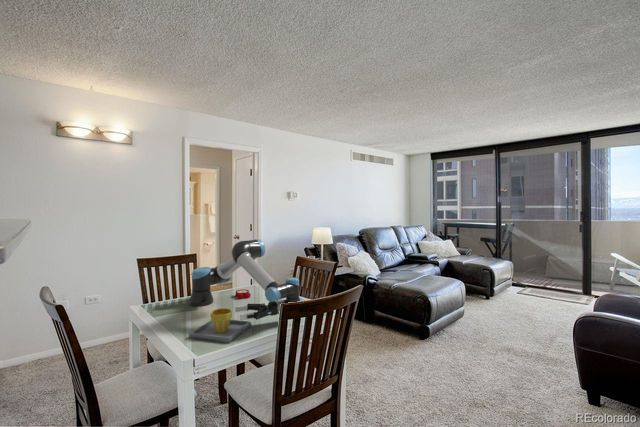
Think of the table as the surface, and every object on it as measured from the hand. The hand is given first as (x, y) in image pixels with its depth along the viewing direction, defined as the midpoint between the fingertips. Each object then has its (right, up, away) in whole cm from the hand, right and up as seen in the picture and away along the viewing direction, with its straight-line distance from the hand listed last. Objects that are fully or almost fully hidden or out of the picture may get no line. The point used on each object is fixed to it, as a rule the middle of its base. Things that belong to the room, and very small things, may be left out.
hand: (237, 313), depth 167 cm
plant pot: (-8, -8, -3) cm, 11 cm away
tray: (-8, -9, -3) cm, 12 cm away
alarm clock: (-12, -8, +60) cm, 61 cm away
